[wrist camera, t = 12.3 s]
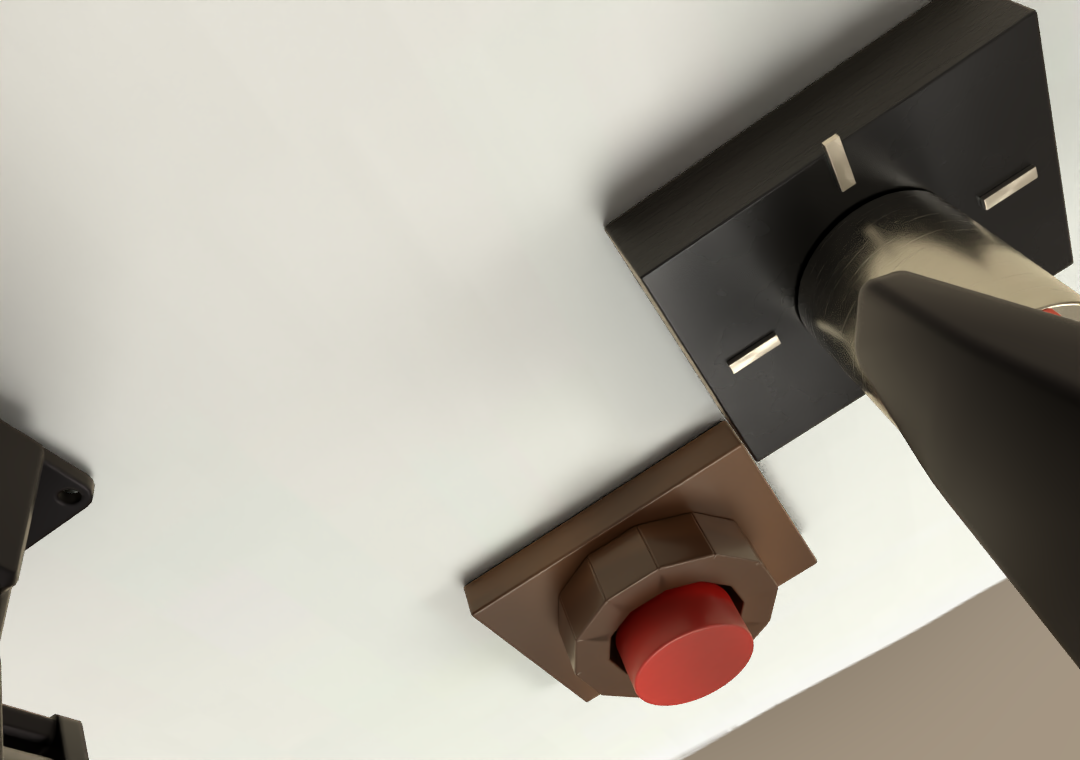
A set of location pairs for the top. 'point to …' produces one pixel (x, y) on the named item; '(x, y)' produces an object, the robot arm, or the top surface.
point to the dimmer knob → (913, 268)
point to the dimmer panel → (845, 201)
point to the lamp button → (684, 644)
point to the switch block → (643, 561)
